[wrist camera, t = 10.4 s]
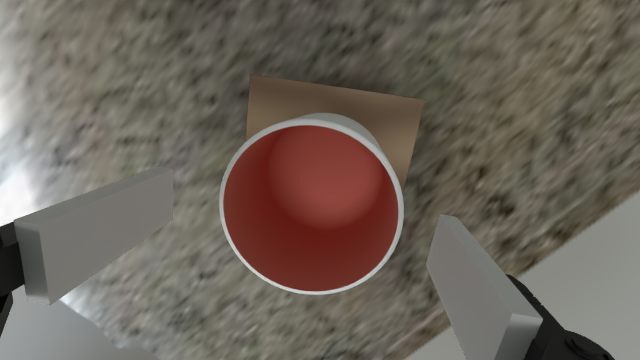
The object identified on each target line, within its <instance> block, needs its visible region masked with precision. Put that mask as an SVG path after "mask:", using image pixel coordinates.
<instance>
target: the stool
mask: <svg viewBox="0 0 640 360" xmlns="http://www.w3.org/2000/svg"><path fill="white" fill-rule="evenodd" d="M424 101H425V100H423V99H416V98H410V97H403V96H396V95H389V94H383V93H376V92H369V91H362V90H356V89H349V88H342V87H335V86H328V85H322V84H315V83H308V82H301V81H295V80H288V79H281V78H274V77H268V76H261V75H254V74H250V86H249V99H248V112H247V125H246V138H245V142H246V141H248V140H249V139H250V138H251V137H253V136H254V135H255V134H257V133H258V132H260V131H262V130H263V129H265V128H268V127H270V126H272V125H275V124H277V123H280V122H284V121H287V120H291V119H294V118H298V117H301V116H305V115H309V114H313V113H334V114H339V115H342V116H345V117H348V118H350V119H352V120H354V121H356V122H358V123H359V124H361V125H362V126H363V127H364V128H366V129H367V130H368V131H369V132H370V133H371V134H372V136H373V137H374V138H375V140H376V141H377V142H378V144H379V146H380V147H381V149H382V151H383V153H384V154H385V156H386V158H387V159H388V161H389V163H390V164H391V166H392V168H393V170H394V172H395V174H396V176H397V178H398V181H399V184H400V187H401V191H402V196H403V192H404V187H405V183H406V179H407V175H408V170H409V166H410V162H411V157H412V153H413V149H414V144H415V140H416V136H417V131H418V127H419V123H420V119H421V114H422V110H423V106H424Z"/></svg>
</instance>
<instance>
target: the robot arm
mask: <svg viewBox="0 0 640 360" xmlns="http://www.w3.org/2000/svg"><path fill="white" fill-rule="evenodd" d="M172 220H173V169H171V168H165V167H159V166H158V167H155V168H153V169H150V170H147V171H145V172H142V173H139V174H136V175H134V176H131V177H128V178H126V179H123V180H120V181H118V182H115V183H112V184H109V185H107V186H104V187H101V188H99V189H96V190H93V191H91V192H88V193H85V194H82V195H80V196H77V197H74V198H72V199H69V200H66V201H64V202H61V203H58V204H56V205H53V206H50V207H47V208H45V209H42V210H39V211H37V212H34V213H31V214H29V215H26V216H23V217H20V218H18V219H15V220H14V222H11V223H9V224H6V225H3V226H1V227H0V336H1V334H2V331H3V328H4V326H5V323H6V320H7V317H8V315H9V312H10V309H11V307H12V304H13V297H12V291H13V290H15V289H17V288H18V287H20V286H22V285H23V284H24V285H25V291H26V297H27V301H31V302H37V303H41V304H46V305H51V304H52V303H54V302H55V301H57V300H58V299H60V298H61V297H63V296H64V295H65V294H67V293H68V292H70V291H71V290H73V289H74V288H76V287H77V286H78V285H80V284H81V283H83V282H84V281H86V280H87V279H88V278H90V277H91V276H93V275H94V274H96V273H97V272H98V271H100V270H101V269H103V268H104V267H106V266H107V265H108V264H110V263H111V262H113V261H114V260H116V259H117V258H119V257H120V256H121V255H123V254H124V253H126V252H127V251H129V250H130V249H131V248H133V247H134V246H136V245H137V244H139V243H140V242H141V241H143V240H144V239H146V238H147V237H149V236H150V235H151V234H153V233H154V232H156V231H157V230H159V229H160V228H162V227H163V226H164V225H166V224H167V223H169V222H170V221H172ZM426 267H427V269H428V272H429V274H430V276H431V279H432V281H433V283H434V285H435V288H436V290H437V292H438V295H439V297H440V299H441V302H442V304H443V306H444V309H445V311H446V313H447V316H448V318H449V320H450V323H451V325H452V327H453V330H454V332H455V334H456V336H457V339H458V341H459V343H460V346H461V348H462V350H463V353H464V355H465V357H466V359H467V360H615V359H614V358H613V357H612V356H611V355H610V354H609V353H608V352H607V351H606V350H604V349H603V348H602V347H601V346H599V345H598V344H596V343H595V342H593V341H591V340H590V339H588V338H586V337H584V336H581V335H579V334H577V333H574V332H571V331H567V330H565V329H564V328H563V327H562V326H561V325H560V324H559V323H558V322H557V321H556V320H555V318H554V317H553V316H552V315H551V314H550V313H549V312H548V311H547V310H546V308H545V307H544V306H542V305H541V303H540V302H539V301H538V300H537V299H536V298H535V297H533V294H532V293H531V292H530V291H529V290H528V289H527V287H526V286H525V285H524V284H522V283H521V282H519V281H518V280H517V279H515V278H514V277H512V276H511V275H507V274H504V272H503V271H502V270H501V269H500V268H499V266H498V265H497V264H496V263H495V262H494V261H493V259H492V258H491V257H490V256H489V255H488V254H487V252H486V251H485V250H484V249H483V248H482V247H481V245H480V244H479V243H478V242H477V241H476V239H475V238H474V237H473V236H472V235H471V234H470V232H469V231H468V230H467V229H466V228H465V227H464V225H463V224H462V223H461V222H460V221H459V219H458V218H457V217H453V216H447V215H442V214H440V216H439V219H438V223H437V226H436V230H435V234H434V237H433V241H432V244H431V248H430V251H429V255H428V259H427V262H426Z"/></svg>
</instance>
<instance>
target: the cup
mask: <svg viewBox="0 0 640 360" xmlns="http://www.w3.org/2000/svg"><path fill="white" fill-rule="evenodd" d="M219 209H220V217H221V222H222V226H223V229H224V232H225V235H226V237H227V239H228V241H229V243H230V245H231V247H232V249H233V250H234V252H235V253H236V255H237V256H238V257H239V258H240V260H241V261H242V262H243V263H244V264H245V265H246V266H247V267H248V268H249V269H250V270H251V271H252V272H254V273H255V274H256V275H257V276H259V277H260V278H262V279H263V280H265V281H267V282H268V283H270V284H272V285H274V286H277V287H279V288H282V289H285V290H288V291H292V292H296V293H301V294H310V295H321V294H331V293H336V292H340V291H343V290H347V289H349V288H352V287H354V286H357V285H358V284H360V283H362V282H364V281H365V280H367V279H368V278H370V277H371V276H372V275H374V274H375V273H376V272H377V271H378V270H379V269H380V268H381V267H382V266H383V265H384V264H385V263H386V261H387V260H388V259H389V257H390V256H391V254H392V253H393V251H394V249H395V247H396V245H397V243H398V240H399V237H400V234H401V230H402V226H403V219H404V203H403V196H402V191H401V187H400V184H399V181H398V178H397V176H396V174H395V172H394V170H393V168H392V166H391V164H390V163H389V161H388V159H387V158H386V156H385V154H384V153H383V151H382V149H381V147H380V146H379V144H378V142H377V141H376V140H375V138H374V137H373V136H372V134H371V133H370V132H369V131H368V130H367V129H366V128H364V127H363V126H362V125H361V124H359V123H358V122H356V121H354V120H352V119H350V118H348V117H345V116H342V115H339V114H334V113H313V114H309V115H305V116H301V117H298V118H294V119H291V120H287V121H284V122H280V123H277V124H275V125H272V126H270V127H268V128H265V129H263V130H262V131H260V132H258V133H257V134H255V135H254V136H253V137H251V138H250V139H249V140H248V141H246V142H245V143H244V144H243V145H242V146H241V147H240V148H239V150H238V151H237V152H236V154H235V155H234V156H233V158H232V159H231V161H230V163H229V165H228V167H227V169H226V171H225V174H224V176H223V180H222V183H221V188H220V196H219Z"/></svg>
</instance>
